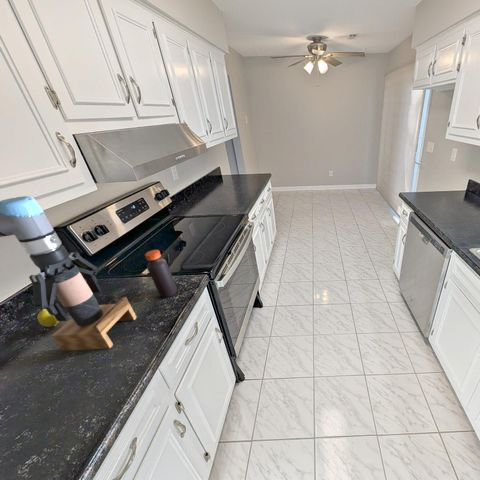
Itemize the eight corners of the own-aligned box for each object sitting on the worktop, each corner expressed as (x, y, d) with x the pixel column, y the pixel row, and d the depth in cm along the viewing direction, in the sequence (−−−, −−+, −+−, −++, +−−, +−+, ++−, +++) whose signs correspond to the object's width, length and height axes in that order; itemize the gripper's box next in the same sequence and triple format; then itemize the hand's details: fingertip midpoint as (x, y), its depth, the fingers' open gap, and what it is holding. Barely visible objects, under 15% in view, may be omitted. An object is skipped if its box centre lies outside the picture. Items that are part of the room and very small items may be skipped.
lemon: (43, 333, 92) (30, 317, 88) (46, 324, 96) (34, 308, 92) (63, 326, 94) (52, 310, 91) (66, 317, 98) (54, 302, 95)
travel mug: (108, 313, 88) (80, 265, 79) (83, 329, 82) (49, 279, 73) (96, 308, 91) (68, 261, 82) (71, 323, 85) (37, 274, 76)
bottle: (172, 297, 105) (155, 256, 96) (156, 298, 106) (138, 257, 96) (180, 287, 111) (165, 248, 102) (165, 288, 112) (148, 249, 102)
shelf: (63, 350, 84) (46, 328, 79) (95, 319, 96) (83, 299, 92) (110, 348, 84) (96, 326, 79) (137, 317, 96) (126, 296, 92)
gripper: (13, 273, 63) (58, 333, 73) (92, 230, 85) (118, 281, 95) (-16, 274, 63) (33, 335, 73) (70, 232, 86) (99, 282, 95)
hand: (81, 305), depth 84 cm, fingers open, 13 cm apart
